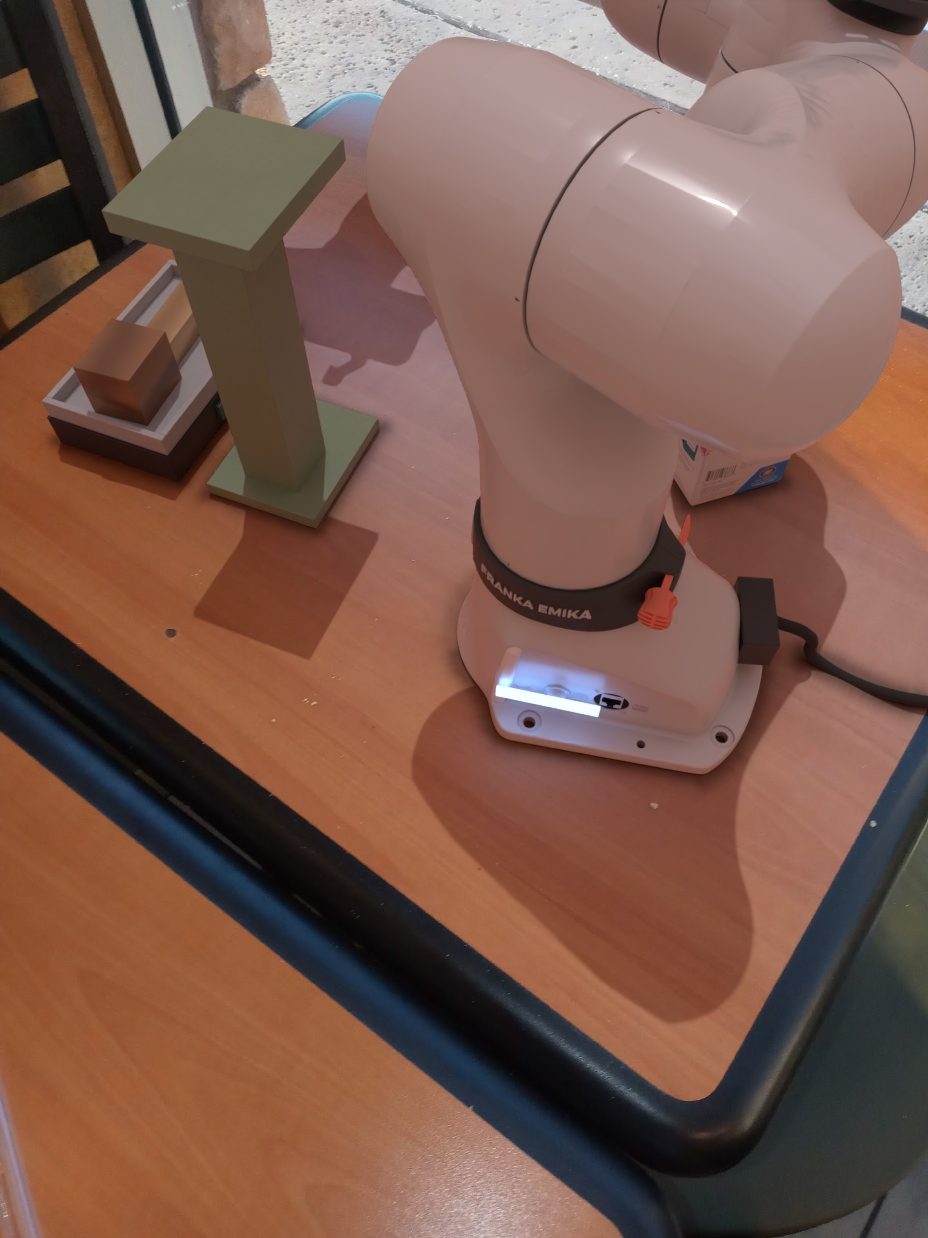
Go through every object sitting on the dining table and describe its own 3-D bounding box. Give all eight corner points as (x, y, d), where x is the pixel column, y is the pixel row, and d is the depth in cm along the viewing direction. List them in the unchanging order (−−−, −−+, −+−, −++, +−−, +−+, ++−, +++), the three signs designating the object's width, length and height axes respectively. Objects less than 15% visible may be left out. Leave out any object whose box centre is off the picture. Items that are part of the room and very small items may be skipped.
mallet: (239, 295, 83) (226, 248, 79) (147, 426, 75) (128, 381, 71) (190, 284, 84) (175, 237, 80) (94, 412, 76) (72, 366, 71)
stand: (379, 427, 79) (343, 137, 57) (316, 529, 74) (248, 250, 52) (278, 396, 82) (206, 105, 59) (209, 492, 76) (101, 210, 54)
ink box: (753, 441, 78) (806, 301, 66) (781, 483, 76) (842, 346, 63) (663, 466, 77) (699, 327, 64) (688, 509, 74) (732, 374, 62)
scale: (295, 332, 86) (286, 289, 82) (182, 483, 76) (166, 444, 72) (182, 299, 88) (168, 256, 84) (60, 441, 79) (37, 401, 75)
